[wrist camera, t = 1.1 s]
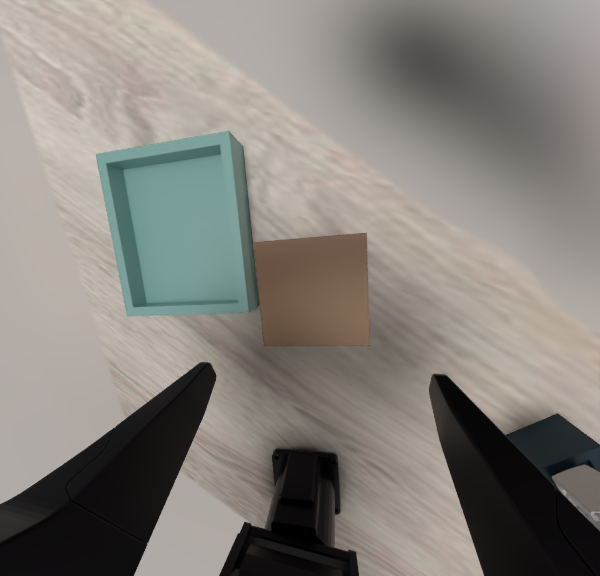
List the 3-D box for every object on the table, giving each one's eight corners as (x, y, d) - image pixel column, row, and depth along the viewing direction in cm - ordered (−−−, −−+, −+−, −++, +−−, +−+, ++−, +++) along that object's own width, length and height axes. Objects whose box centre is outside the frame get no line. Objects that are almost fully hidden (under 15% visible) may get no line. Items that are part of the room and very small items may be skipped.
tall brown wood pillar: (352, 295, 20) (369, 345, 9) (300, 297, 20) (263, 345, 10) (350, 242, 19) (366, 232, 9) (297, 246, 20) (253, 242, 9)
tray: (259, 305, 21) (248, 312, 19) (149, 309, 23) (127, 316, 20) (242, 146, 19) (228, 131, 16) (123, 165, 21) (95, 154, 18)
